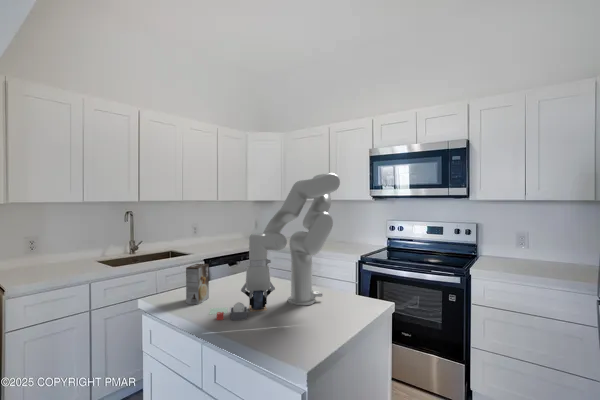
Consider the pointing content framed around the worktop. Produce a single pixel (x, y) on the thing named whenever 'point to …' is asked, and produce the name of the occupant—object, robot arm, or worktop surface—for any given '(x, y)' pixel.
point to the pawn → (257, 300)
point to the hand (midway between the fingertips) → (258, 306)
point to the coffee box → (197, 283)
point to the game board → (235, 315)
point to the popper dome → (238, 307)
